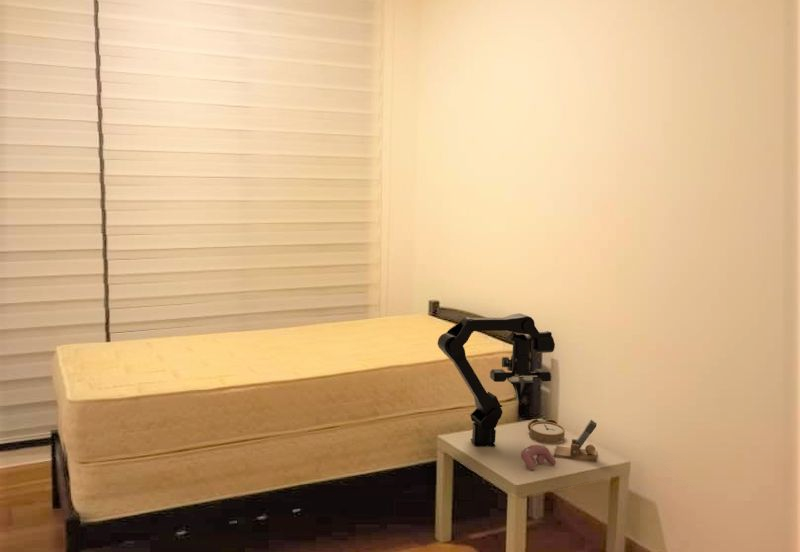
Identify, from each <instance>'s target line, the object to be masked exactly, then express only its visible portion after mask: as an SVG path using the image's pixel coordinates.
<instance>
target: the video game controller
mask: <svg viewBox="0 0 800 552" xmlns="http://www.w3.org/2000/svg"><path fill="white" fill-rule="evenodd" d="M550 451H551V450H549V448H548V447H546V445H543V444H541V445H540V444H533V445H529V446H527V447H525V448H524V449H522V450H521V453H520V457H521V459H522V461H523V462H524V464H525V466H526V467H527V468H528V470H530V471H533V472H534V470H535V467H536V465H542V464H544V462H545V460H546V461H547V463H548V464H550V465H551V466H552V467H553V466H555V465H556V459H555V457H554V455H553V454H552V453H551V452H550ZM535 457H536V458H535Z"/></svg>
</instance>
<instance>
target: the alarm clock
mask: <svg viewBox="0 0 800 552" xmlns="http://www.w3.org/2000/svg"><path fill="white" fill-rule="evenodd" d="M527 429H528V432H529V437H530V438H531V439H532V440H533V441H535V440H536V441H535V442H539V441H540V442H539V443H544V442H545V444H558V443H562V442H563V441H564V440H565V432H566V429H565V428H564V426H562V425H560V424H558V422H557V421H556V420H555V419H547V420H539V419H536V418H533V419H531V420H530V421H528V424H527ZM561 441H562V442H561ZM557 442H558V443H557Z"/></svg>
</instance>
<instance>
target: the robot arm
mask: <svg viewBox="0 0 800 552" xmlns="http://www.w3.org/2000/svg"><path fill="white" fill-rule="evenodd" d="M535 323H536V322H535V321H534V319H533V318H532V317H531V316H530V315H529V316H528V315H526V314H523V313H515V314H510V315H507V316H503V317H464V318H462V319H461V320H459V322H458V323H456V324H455V325H454V326H452V327H450V328H448V330H447V331H446V332H444V333H442V334H441V335H440V336H439V337H438V339H437V346H438V348H439V350H440V351H441V352H442V353H443V354H444V355H445V356H446V357H447V358H448V359H449V360H450V361H451V362H452V363H453V364H454V367H455V368H456V370H457V371H458V373H459V375H460V376H461V378H462V379H463V381H464V382H465V384H466V387H468V390H469V391H470V393H471V395H472V396H473V398H474V405H475V407H476V409H474V410H473V412H471V413H470V415H469V416H470V419H471V421H472V438H470V441H471V443H472V444H473V446H474V447H495V446H496V444H495V443H496V435H497V430H496V428H497V426H498V422H499V420H500V419H501V418H502V415H503V409H502V408H503V405H501V403H500V401H499V399H498V397H497V396H496V395H495V394H493V393H491V392H490V391H486V389H485V387H484V386H483V384H482V383H481V380H480V379H479V377H478V375H477V374H476V372H475V370H474V369H473V367H472V365H471V364H470V362H469V360H468V359H467V357H466V350H465V347H464V345H465V344H466V343H467V342H468V340H469V339H470V337H471V336H472V334H473V333H474V332H491V331H492V332H494V331H495V332H496V331H497V332H498V331H501V332H503V331H508V332H511V333H510V334H509V335H507V336H506V340H509V341H511V342H512V354H511V356H510V358H509V357H508V356H507V357H501V367H502V368H501V369H500V368H497V369H496V368H495V369H491V370H490V372H489V378H490V379H491V380H492V381H493V382H496V383H503V382H505V381H507V382H509V383H510V384H511V385H512V387H513V388H514V392H515V396H516V400H517V402H518V403H519V402H520V403H521V402H522V401H523V399H524V396H525V395H526V393H527V391H528V389H529V388H530V386H531V385H533V384H534V383H535V382H534V381H533V379H540V381H541V382H551V381H552V373H551V372H550V371H548V369H546V368H535V369H534V370H533V371H531V362H532V358H531V357H532V356H531V351H532V352H533V353H534V354H547V353H550V354H551V353H554V351H555V348H556V347H555V345H556V343H555V340H554V337H553V336H552V335H553V333H552V332H551V331H549V330H546V331H539V330H538V329H537V327H536V325H535ZM526 335H528V336H526ZM503 368H506V369H507V371H505V370H504V369H503Z"/></svg>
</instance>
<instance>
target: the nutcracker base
mask: <svg viewBox="0 0 800 552" xmlns="http://www.w3.org/2000/svg"><path fill="white" fill-rule="evenodd" d="M577 439H578V438H577ZM577 439H576V438H572V439H571V444H570V447H568V446H562V445H561V446H559V445H556V446H555V449H554V453H553V457H554V458H559V459H570V460H578V461H583V462H585V461H586V462H594V463H596V462H597V459H598V458H597V457H598V450H596V447H595V446H594V445H593V444H587V445H586V446H585V447H584V448H585V449H584V448H580V449H579V445H577V444H574V443H575V442H576V441H577Z"/></svg>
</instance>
